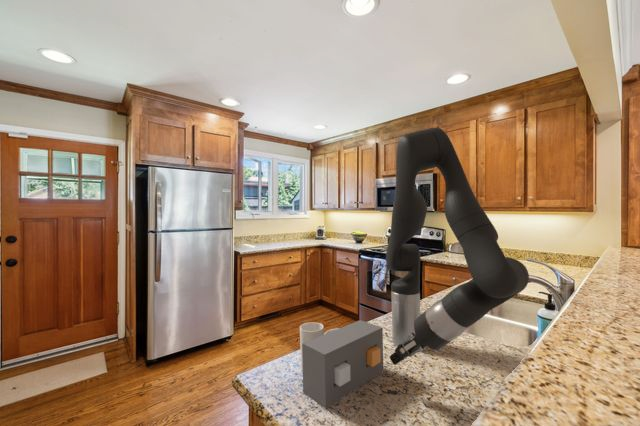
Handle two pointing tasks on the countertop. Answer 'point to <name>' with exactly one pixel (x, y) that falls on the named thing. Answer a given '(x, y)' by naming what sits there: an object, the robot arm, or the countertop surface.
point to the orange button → (373, 356)
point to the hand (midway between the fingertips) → (393, 360)
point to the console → (339, 361)
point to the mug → (309, 334)
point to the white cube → (341, 373)
